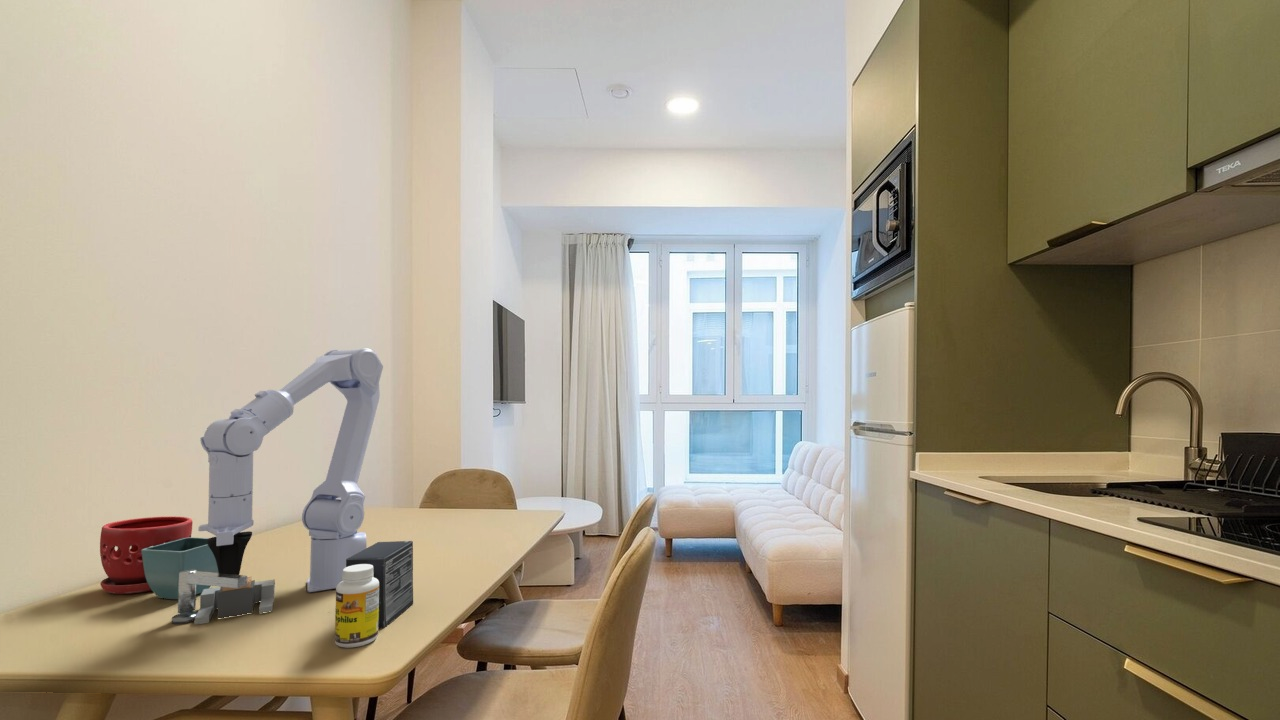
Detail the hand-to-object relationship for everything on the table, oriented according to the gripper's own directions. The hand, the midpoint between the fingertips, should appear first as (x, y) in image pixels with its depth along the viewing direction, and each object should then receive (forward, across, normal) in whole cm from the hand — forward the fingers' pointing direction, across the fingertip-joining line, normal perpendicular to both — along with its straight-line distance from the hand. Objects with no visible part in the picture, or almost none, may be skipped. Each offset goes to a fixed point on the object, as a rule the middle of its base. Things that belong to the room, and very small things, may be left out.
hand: (229, 581), depth 92 cm
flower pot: (+6, -18, -8) cm, 21 cm away
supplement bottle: (+6, +20, +17) cm, 27 cm away
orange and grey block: (+6, -3, +1) cm, 7 cm away
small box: (+6, +11, +21) cm, 24 cm away
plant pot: (+6, -28, -15) cm, 33 cm away
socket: (+6, -3, +1) cm, 6 cm away
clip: (+4, 0, -2) cm, 5 cm away
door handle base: (+6, -3, -6) cm, 9 cm away
